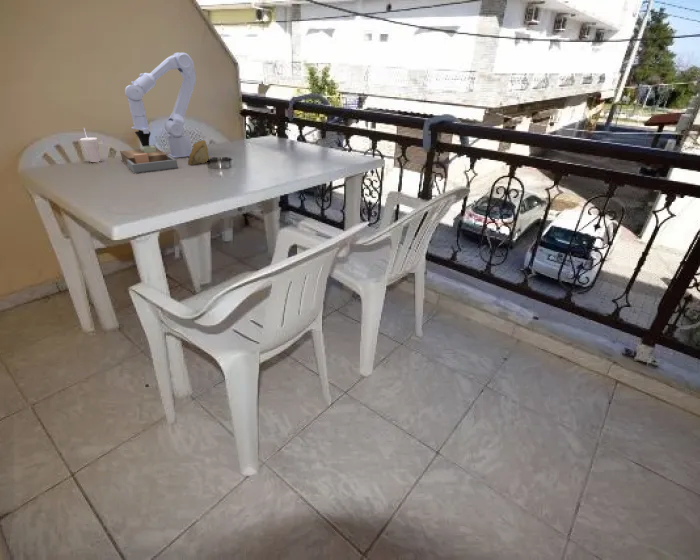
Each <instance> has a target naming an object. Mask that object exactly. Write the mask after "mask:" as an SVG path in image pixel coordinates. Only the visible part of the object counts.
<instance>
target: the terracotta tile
mask: <svg viewBox="0 0 700 560" xmlns="http://www.w3.org/2000/svg"><path fill="white" fill-rule="evenodd" d="M133 155H134V159H135V163H136V164H139V163H148V162H149V158H148V154H147V153H143V154H133Z"/></svg>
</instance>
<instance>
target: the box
mask: <svg viewBox="0 0 700 560" xmlns="http://www.w3.org/2000/svg"><path fill="white" fill-rule="evenodd" d="M127 164H128V165H127ZM127 164H126V165H127V168H128V169H129V170H130V171H131V172H132V173H133V172H134V173H136V174H141V173H142V172H144V173H150V171H152V172H160V171H167V170H175V169H178V168H179V167H178V160H177V159H176V158H173V157H171V156H169V155H167V160H166V161H157V162H148V163H139V164H134V163H133V162H131V161H130V160H127ZM134 173H133V174H134ZM142 174H143V173H142Z"/></svg>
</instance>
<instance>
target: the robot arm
mask: <svg viewBox="0 0 700 560" xmlns="http://www.w3.org/2000/svg"><path fill="white" fill-rule="evenodd" d="M170 70H178V71H179V73H180V75H181V77H182V81H181V85H180V89H179V90H178V94H177V97H176V100H175V103H174V105H173V109H172V112H171V114H170V115H169V118H168V119H167V120H166V121H165V122H164V129H165V132H167V135H166V136H167V137H166V138H167V142H168V145H169V147H168V148H169V151H170V153H168V155H169V156H171V157H173V158H174V159H176V158H186V157H189V155H190V153H191V152H192V149H193V146H192V142H191V138H190V136H189V135H184V131H185V130H184V124H185V116H186V113H187V109H188V108H189V103H190V100H191V98H192V95H193V93H194V92H193V91H194V88H195V86H196V83H197V76H196V71H195V63H194V61H193V59H192V57H191V56H190V55H189V54H188V53H186V52H178V51H177V52H174V53H173V54H172V55H169V56H168V57H167V58H165V59H164V60H163V61H161V63H159V64H158V65H157V66H156V67H155V68H153V70H152V71H151V72H150V73H149V72H144V73H142V72H141V73H139V76H138V78H136V79H135V80H134V81H133V80H132V81H130V84H129V85H127V86H125V89H124V95H125V96H126V98H127V102H128V107H129V112H130V115H131V119H132V124H133V126H131V127H130V129H132V130H137V131H135V132H134V133H135V135H136V136H137V138H138V140H139V141H140V143H141V146H148V145H150V136H151V134H152V133H151V131H150V130H149V129H150V126H149V123H148V118H147V115H146V114H147V113H146V109H145V105H144V103H143V97H144V95H146V94H147V93H148V92H150V90H151V89H153V88H154V87H155V86H156V85H157V84H156V83H157V80H158V79H160V78H161V77H162V76H163V75H165V74H166V73H167V72H169V71H170ZM168 155H167V156H168Z"/></svg>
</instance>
